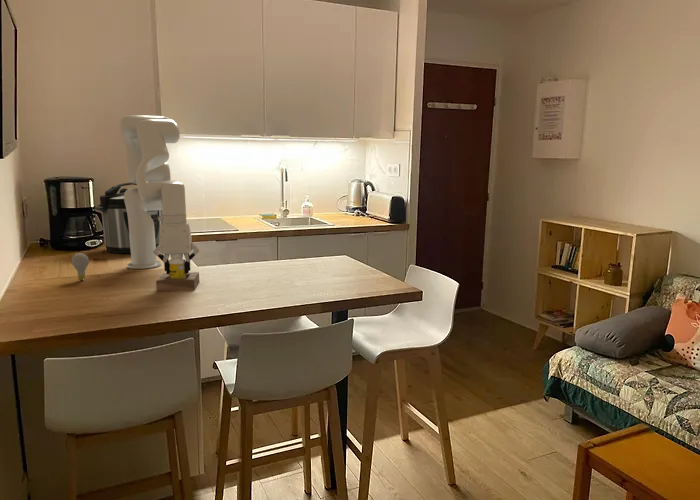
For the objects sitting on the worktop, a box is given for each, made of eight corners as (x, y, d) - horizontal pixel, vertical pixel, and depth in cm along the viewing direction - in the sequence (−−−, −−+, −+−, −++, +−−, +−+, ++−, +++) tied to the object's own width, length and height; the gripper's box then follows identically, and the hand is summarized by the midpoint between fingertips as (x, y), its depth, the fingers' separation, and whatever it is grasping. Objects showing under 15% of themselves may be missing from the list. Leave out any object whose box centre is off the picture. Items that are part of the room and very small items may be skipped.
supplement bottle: (166, 281, 187) (165, 252, 185) (181, 278, 190) (179, 250, 189) (175, 284, 183) (173, 254, 181) (189, 281, 187) (188, 252, 185)
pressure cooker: (94, 256, 245) (88, 184, 240) (108, 246, 273) (102, 181, 267) (165, 253, 251) (160, 183, 246) (171, 244, 279) (167, 180, 273)
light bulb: (83, 282, 194) (81, 254, 192) (70, 282, 195) (67, 254, 193) (93, 279, 199) (91, 252, 197) (80, 278, 200) (77, 251, 199)
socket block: (164, 283, 192) (163, 273, 191) (199, 282, 194) (198, 272, 193) (156, 291, 180) (156, 281, 180) (194, 290, 182) (193, 279, 181)
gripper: (145, 221, 178) (148, 276, 182) (199, 220, 181) (202, 274, 184) (150, 218, 186) (153, 271, 189) (202, 217, 188) (205, 270, 191)
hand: (177, 272), depth 186 cm, fingers closed on supplement bottle, 5 cm apart
